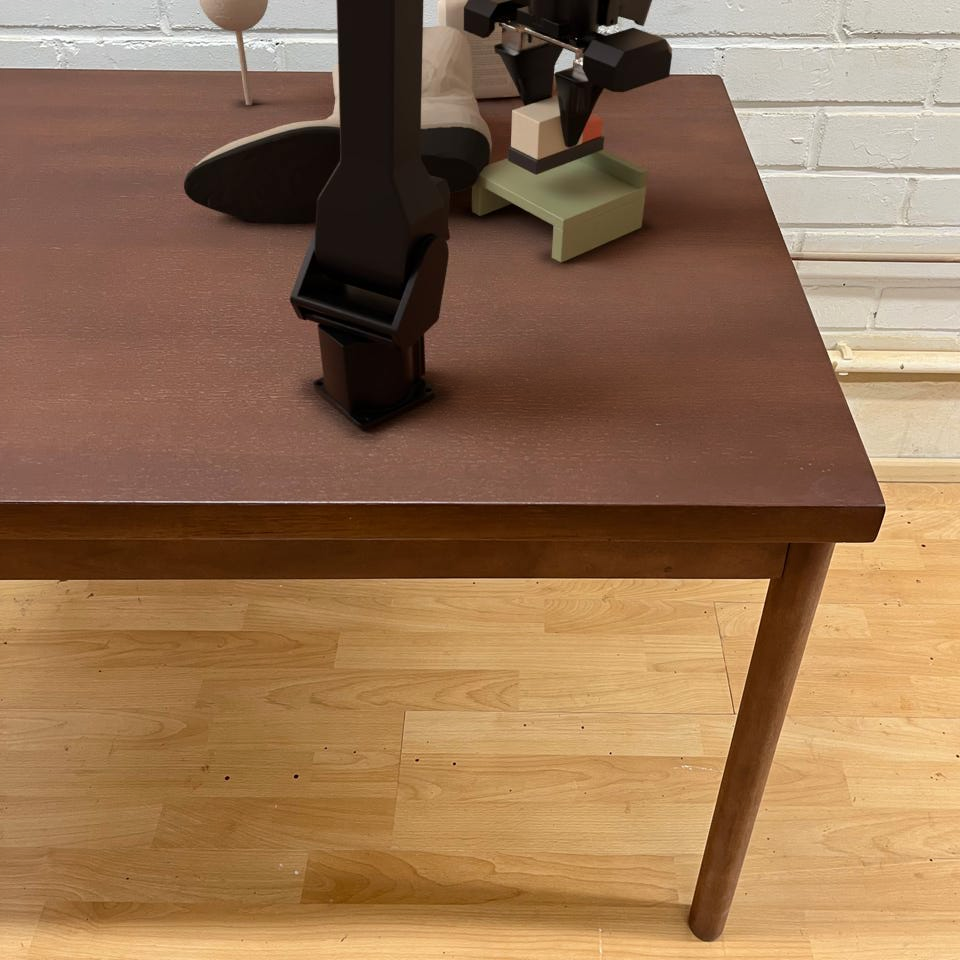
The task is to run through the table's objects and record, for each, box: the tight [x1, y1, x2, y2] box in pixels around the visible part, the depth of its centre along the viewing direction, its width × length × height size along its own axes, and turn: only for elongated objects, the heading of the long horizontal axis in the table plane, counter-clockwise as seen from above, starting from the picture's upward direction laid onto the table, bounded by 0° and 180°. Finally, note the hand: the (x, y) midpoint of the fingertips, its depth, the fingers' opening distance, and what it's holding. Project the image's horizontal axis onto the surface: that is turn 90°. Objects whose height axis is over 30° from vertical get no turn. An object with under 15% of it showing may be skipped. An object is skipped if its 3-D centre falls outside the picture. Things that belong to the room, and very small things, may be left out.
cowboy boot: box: [183, 25, 493, 225], centre depth 96 cm, size 10×28×25 cm
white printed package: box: [436, 0, 520, 100], centre depth 110 cm, size 10×4×12 cm, turn 102°
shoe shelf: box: [471, 148, 650, 263], centre depth 90 cm, size 10×12×6 cm
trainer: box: [507, 95, 605, 175], centre depth 86 cm, size 8×4×4 cm, turn 130°
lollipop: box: [198, 0, 269, 106], centre depth 106 cm, size 7×7×15 cm
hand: (556, 139), depth 86 cm, fingers closed on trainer, 3 cm apart
